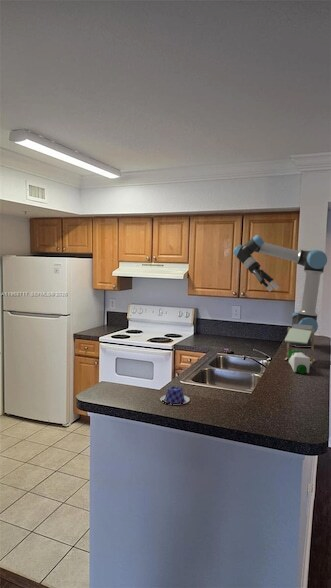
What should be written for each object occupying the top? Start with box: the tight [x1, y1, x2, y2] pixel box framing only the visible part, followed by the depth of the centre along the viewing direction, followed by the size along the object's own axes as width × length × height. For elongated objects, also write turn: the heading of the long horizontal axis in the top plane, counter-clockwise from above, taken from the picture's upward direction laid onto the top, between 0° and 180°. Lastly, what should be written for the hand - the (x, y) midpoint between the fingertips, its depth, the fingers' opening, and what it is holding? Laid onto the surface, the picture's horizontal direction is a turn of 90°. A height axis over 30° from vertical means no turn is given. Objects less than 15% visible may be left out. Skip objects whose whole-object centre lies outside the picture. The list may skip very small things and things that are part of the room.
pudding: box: [159, 385, 191, 405], centre depth 152 cm, size 12×12×5 cm
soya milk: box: [287, 349, 311, 375], centre depth 199 cm, size 9×9×20 cm
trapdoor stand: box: [283, 326, 316, 365], centre depth 216 cm, size 10×15×19 cm
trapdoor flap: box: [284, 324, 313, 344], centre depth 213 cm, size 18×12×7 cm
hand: (274, 289), depth 233 cm, fingers open, 13 cm apart
